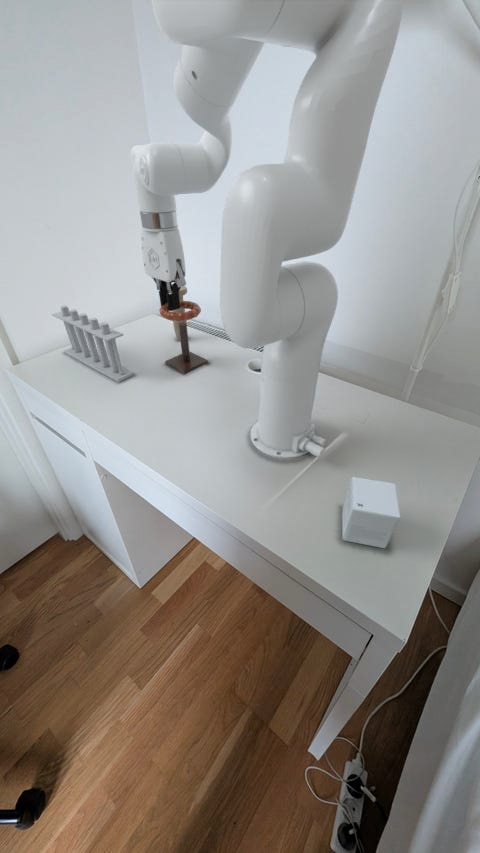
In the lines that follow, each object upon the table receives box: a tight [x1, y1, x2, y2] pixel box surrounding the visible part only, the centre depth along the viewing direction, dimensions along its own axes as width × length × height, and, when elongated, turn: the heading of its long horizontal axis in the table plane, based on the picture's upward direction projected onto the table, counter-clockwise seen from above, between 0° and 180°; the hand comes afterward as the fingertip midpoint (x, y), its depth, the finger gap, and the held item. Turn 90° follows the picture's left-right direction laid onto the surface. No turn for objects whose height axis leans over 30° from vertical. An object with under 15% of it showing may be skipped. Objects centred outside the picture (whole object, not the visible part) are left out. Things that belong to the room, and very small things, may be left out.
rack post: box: [164, 322, 209, 375], centre depth 86 cm, size 8×8×11 cm
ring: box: [158, 300, 202, 321], centre depth 81 cm, size 10×10×2 cm
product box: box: [341, 476, 401, 549], centre depth 48 cm, size 6×6×7 cm
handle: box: [171, 283, 188, 342], centre depth 97 cm, size 5×6×15 cm
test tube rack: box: [51, 305, 134, 383], centre depth 85 cm, size 25×4×13 cm, turn 51°
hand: (170, 307), depth 83 cm, fingers closed on ring, 2 cm apart
